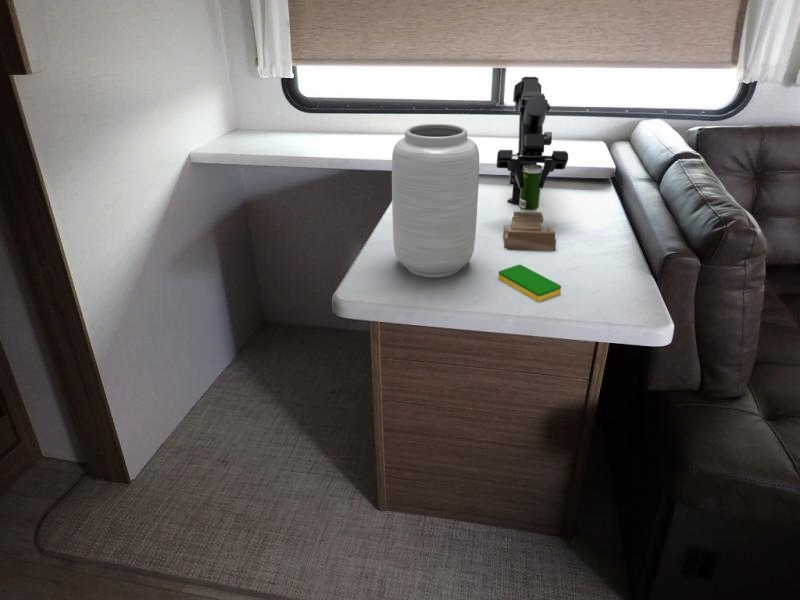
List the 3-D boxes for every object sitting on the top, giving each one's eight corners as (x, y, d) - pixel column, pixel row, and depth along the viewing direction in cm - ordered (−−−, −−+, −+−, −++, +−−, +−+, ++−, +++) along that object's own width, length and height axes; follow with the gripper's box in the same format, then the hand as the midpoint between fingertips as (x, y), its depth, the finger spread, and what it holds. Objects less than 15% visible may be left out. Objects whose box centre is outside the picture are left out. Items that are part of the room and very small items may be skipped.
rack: (503, 235, 161) (504, 218, 158) (551, 236, 160) (553, 220, 157) (504, 249, 153) (506, 231, 150) (555, 251, 151) (557, 233, 149)
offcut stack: (511, 226, 167) (512, 211, 165) (539, 226, 166) (541, 212, 164) (512, 232, 162) (513, 217, 160) (541, 233, 161) (543, 218, 159)
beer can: (530, 214, 156) (535, 171, 151) (514, 209, 160) (518, 166, 154) (542, 209, 160) (547, 166, 154) (526, 204, 163) (530, 162, 157)
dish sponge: (519, 272, 142) (520, 263, 140) (561, 295, 131) (562, 285, 130) (497, 280, 138) (497, 271, 137) (538, 303, 128) (539, 294, 127)
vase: (382, 256, 150) (378, 124, 134) (452, 244, 156) (457, 117, 140) (411, 290, 133) (410, 145, 117) (488, 275, 140) (498, 135, 123)
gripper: (500, 119, 153) (498, 173, 149) (572, 120, 151) (572, 174, 147) (497, 141, 163) (495, 192, 159) (564, 142, 161) (564, 193, 157)
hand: (531, 187), depth 155 cm, fingers closed on beer can, 5 cm apart
